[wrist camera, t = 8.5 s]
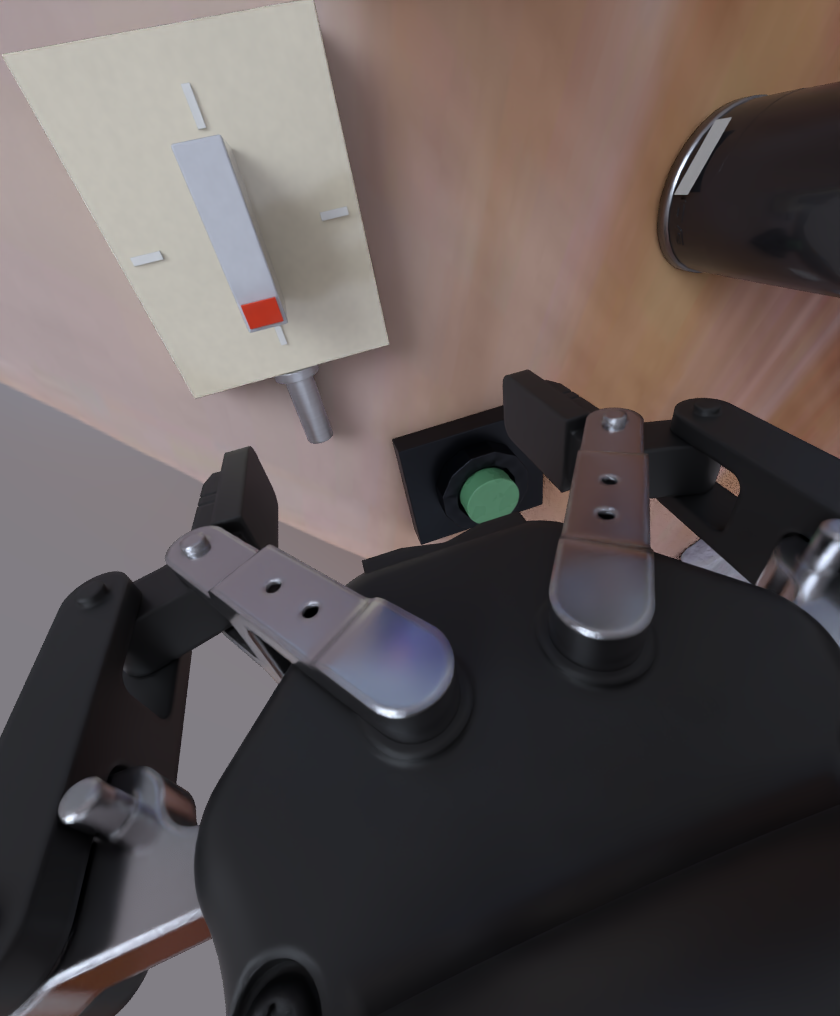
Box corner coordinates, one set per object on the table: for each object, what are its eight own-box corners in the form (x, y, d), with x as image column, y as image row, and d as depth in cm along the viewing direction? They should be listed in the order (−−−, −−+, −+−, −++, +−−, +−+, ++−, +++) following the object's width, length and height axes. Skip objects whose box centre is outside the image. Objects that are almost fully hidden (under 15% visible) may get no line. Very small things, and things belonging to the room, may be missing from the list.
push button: (508, 460, 33) (518, 471, 31) (510, 502, 36) (520, 514, 34) (456, 476, 32) (464, 489, 31) (462, 518, 35) (470, 531, 34)
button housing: (530, 396, 34) (556, 416, 31) (531, 491, 41) (552, 515, 37) (391, 439, 33) (404, 464, 30) (414, 530, 39) (426, 558, 36)
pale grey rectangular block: (190, 154, 18) (168, 143, 14) (231, 145, 19) (220, 132, 15) (252, 309, 22) (248, 335, 18) (285, 301, 23) (288, 324, 19)
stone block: (682, 584, 63) (752, 551, 59) (701, 611, 60) (776, 578, 56) (654, 551, 56) (730, 511, 52) (673, 579, 53) (757, 539, 49)
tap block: (308, 20, 19) (313, -5, 17) (380, 332, 28) (390, 345, 26) (34, 71, 18) (-3, 52, 15) (201, 381, 27) (194, 400, 24)
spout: (314, 352, 27) (317, 366, 25) (338, 425, 31) (343, 443, 28) (271, 364, 27) (271, 379, 25) (301, 436, 30) (303, 455, 28)
